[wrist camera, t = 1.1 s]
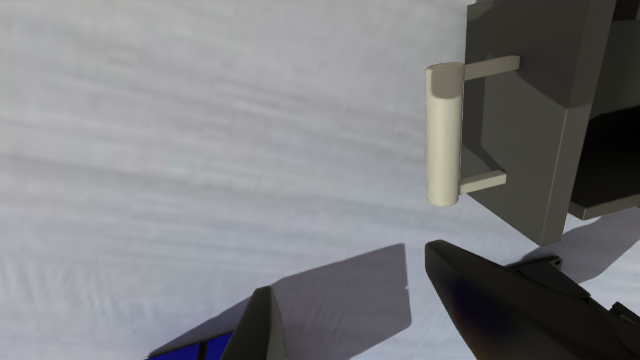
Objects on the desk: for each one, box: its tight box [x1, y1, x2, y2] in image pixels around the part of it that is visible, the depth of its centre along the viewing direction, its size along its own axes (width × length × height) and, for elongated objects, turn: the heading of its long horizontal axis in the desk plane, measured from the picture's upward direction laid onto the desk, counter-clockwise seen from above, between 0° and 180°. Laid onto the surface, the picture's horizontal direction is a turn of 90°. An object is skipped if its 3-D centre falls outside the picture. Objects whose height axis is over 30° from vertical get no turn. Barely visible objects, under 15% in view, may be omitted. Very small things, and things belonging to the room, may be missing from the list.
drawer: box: [425, 0, 640, 246], centre depth 16 cm, size 18×11×7 cm, turn 100°
